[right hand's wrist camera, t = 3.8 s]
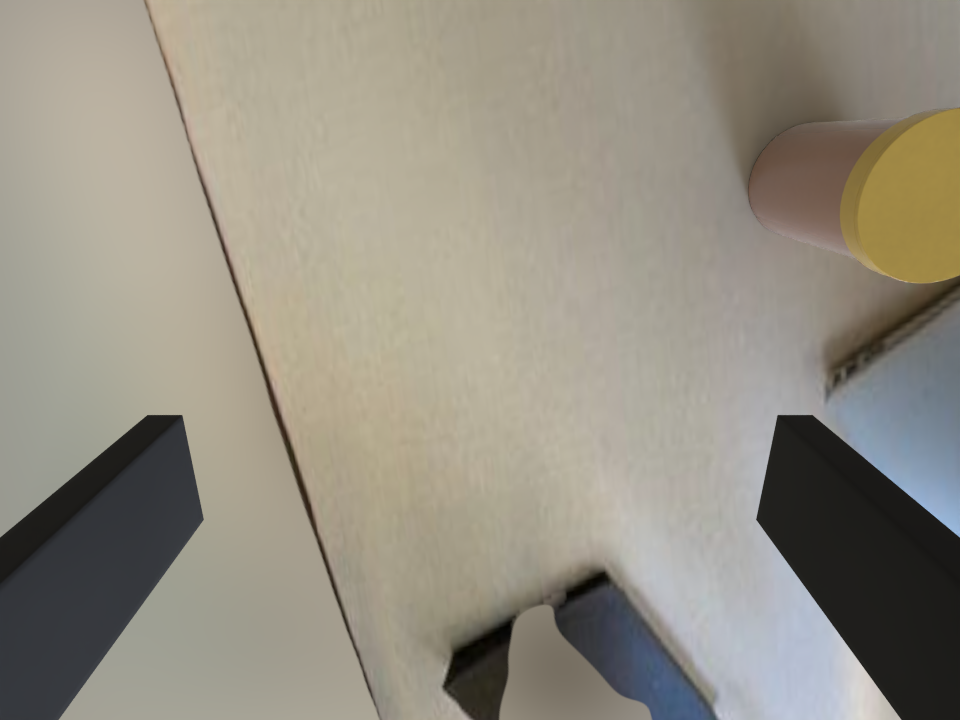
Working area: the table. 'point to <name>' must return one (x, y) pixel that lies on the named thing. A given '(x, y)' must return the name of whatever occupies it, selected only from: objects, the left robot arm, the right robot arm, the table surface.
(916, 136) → the lid
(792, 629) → the table surface
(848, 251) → the jar
